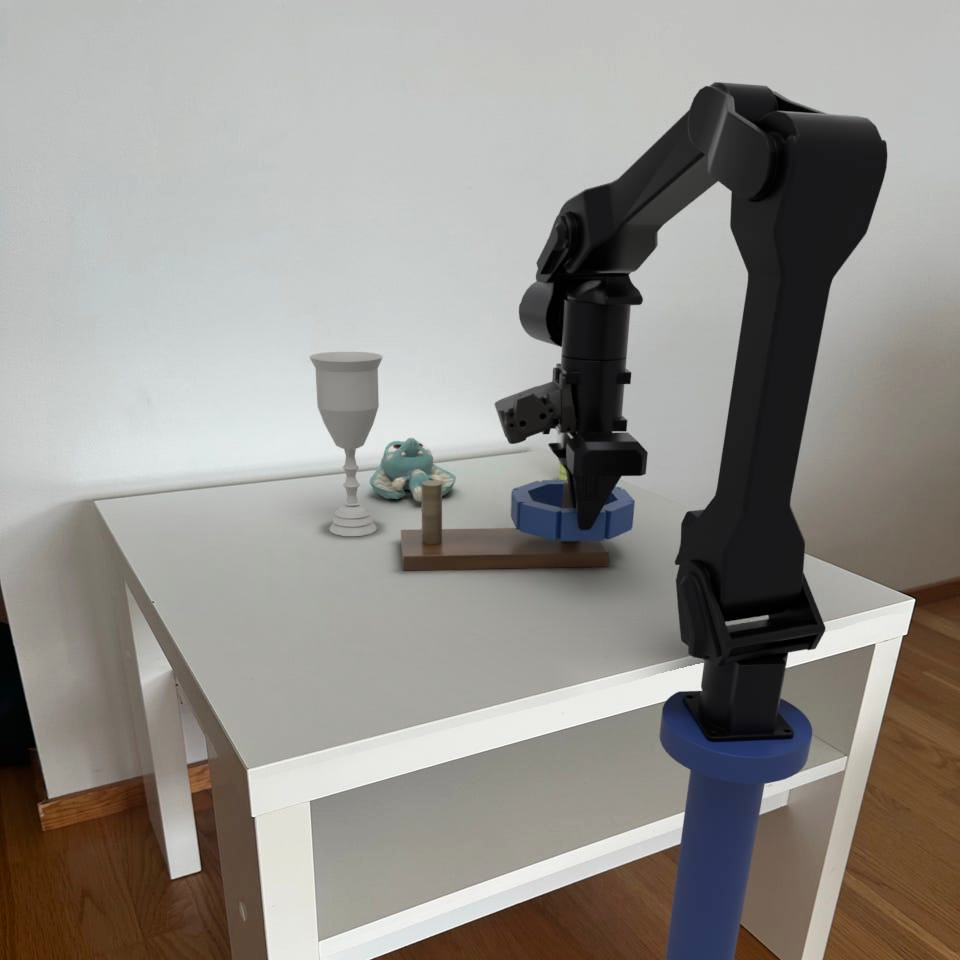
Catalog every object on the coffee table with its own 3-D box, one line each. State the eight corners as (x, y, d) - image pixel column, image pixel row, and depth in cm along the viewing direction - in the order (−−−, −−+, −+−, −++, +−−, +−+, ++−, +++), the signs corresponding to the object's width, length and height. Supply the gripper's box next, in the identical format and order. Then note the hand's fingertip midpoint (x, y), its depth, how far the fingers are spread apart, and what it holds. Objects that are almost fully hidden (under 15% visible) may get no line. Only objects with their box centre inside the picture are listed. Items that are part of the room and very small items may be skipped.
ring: (642, 540, 89) (645, 511, 88) (521, 542, 88) (522, 513, 87) (613, 504, 100) (616, 479, 98) (505, 506, 98) (506, 480, 97)
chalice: (322, 541, 97) (313, 362, 90) (315, 521, 103) (305, 352, 95) (392, 536, 99) (388, 360, 91) (381, 517, 105) (376, 350, 97)
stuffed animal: (383, 466, 104) (357, 424, 113) (381, 523, 108) (357, 478, 117) (474, 460, 107) (442, 419, 116) (469, 515, 111) (439, 472, 120)
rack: (607, 566, 92) (613, 492, 89) (403, 570, 90) (401, 495, 87) (590, 540, 99) (595, 470, 96) (400, 543, 97) (399, 472, 94)
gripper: (490, 341, 90) (487, 499, 96) (517, 373, 73) (511, 562, 79) (604, 342, 91) (593, 497, 97) (657, 373, 74) (639, 559, 81)
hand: (582, 526), depth 89 cm, fingers closed on ring, 2 cm apart
